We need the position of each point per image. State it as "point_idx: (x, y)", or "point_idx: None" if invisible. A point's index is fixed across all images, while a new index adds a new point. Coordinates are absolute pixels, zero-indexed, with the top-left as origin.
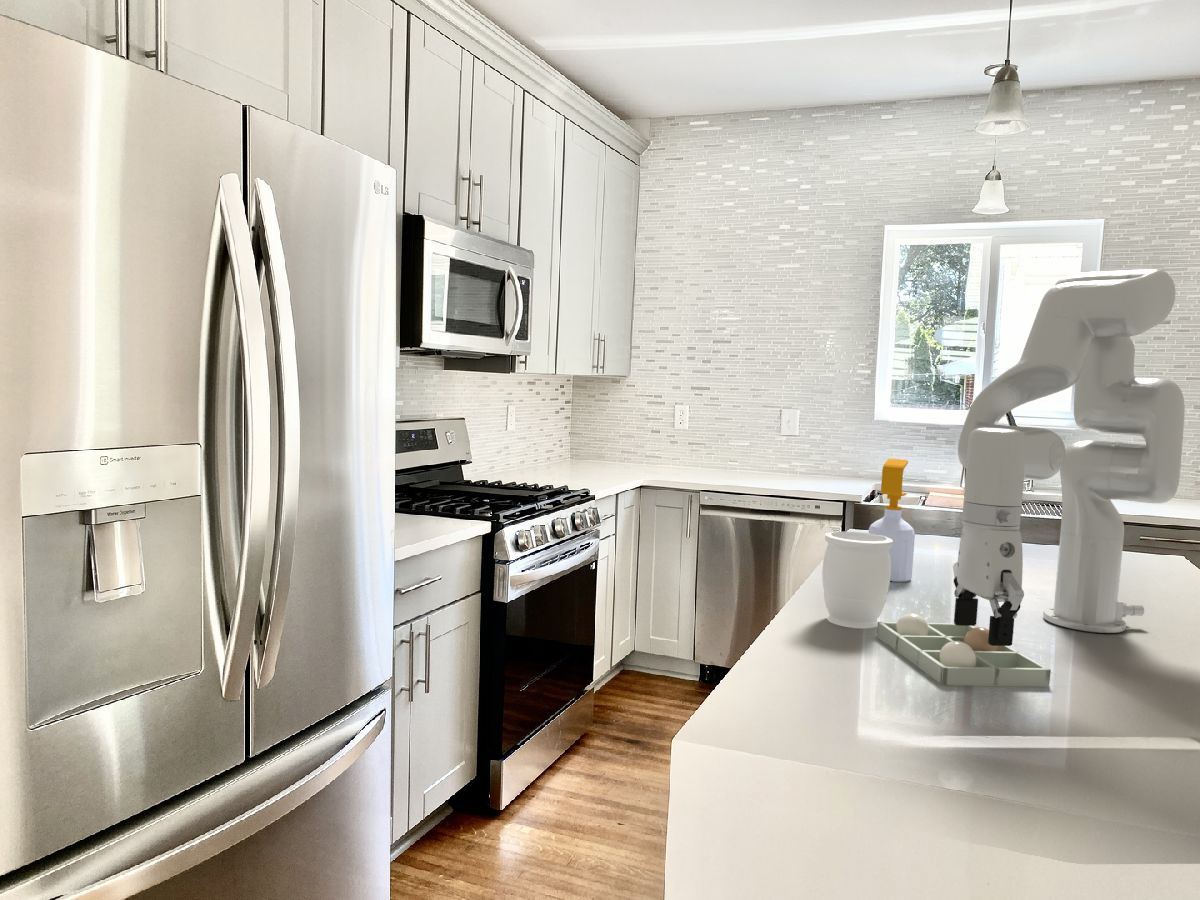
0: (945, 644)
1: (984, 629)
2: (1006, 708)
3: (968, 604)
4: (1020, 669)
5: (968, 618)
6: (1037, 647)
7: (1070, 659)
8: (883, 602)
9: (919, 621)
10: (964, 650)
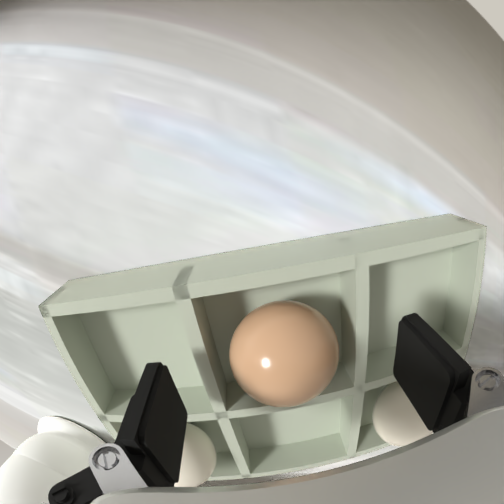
0: (401, 446)
1: (307, 385)
2: (487, 319)
3: (165, 450)
4: (477, 301)
5: (172, 403)
6: (46, 85)
7: (140, 19)
8: (68, 470)
9: (201, 473)
10: None
